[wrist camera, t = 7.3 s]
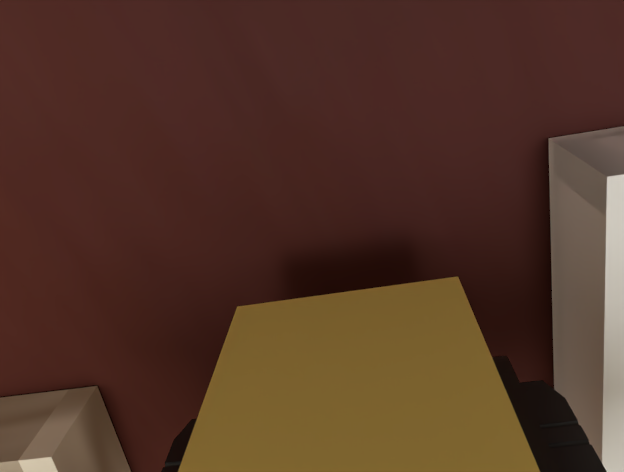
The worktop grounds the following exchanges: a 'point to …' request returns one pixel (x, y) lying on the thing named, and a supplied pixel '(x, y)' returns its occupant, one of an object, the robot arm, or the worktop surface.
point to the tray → (589, 283)
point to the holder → (59, 433)
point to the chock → (358, 388)
